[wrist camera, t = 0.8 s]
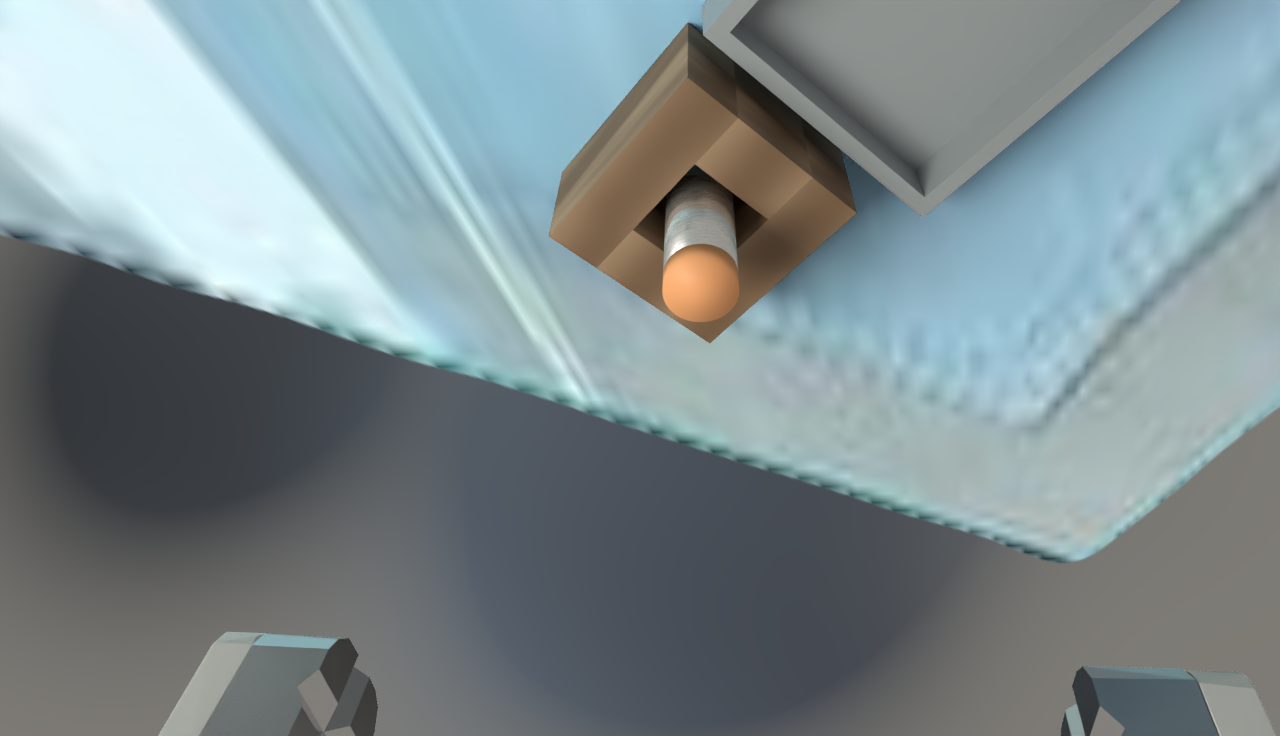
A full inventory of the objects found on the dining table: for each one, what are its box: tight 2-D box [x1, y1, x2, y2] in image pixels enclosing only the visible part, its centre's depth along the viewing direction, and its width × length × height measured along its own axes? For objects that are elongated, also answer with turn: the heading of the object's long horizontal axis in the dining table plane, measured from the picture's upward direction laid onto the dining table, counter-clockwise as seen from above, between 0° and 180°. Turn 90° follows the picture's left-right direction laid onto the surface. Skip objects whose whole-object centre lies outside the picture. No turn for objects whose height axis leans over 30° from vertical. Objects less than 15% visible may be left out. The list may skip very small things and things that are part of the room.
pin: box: [662, 165, 739, 322], centre depth 42 cm, size 3×3×11 cm
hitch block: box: [549, 23, 857, 343], centre depth 44 cm, size 10×10×6 cm
